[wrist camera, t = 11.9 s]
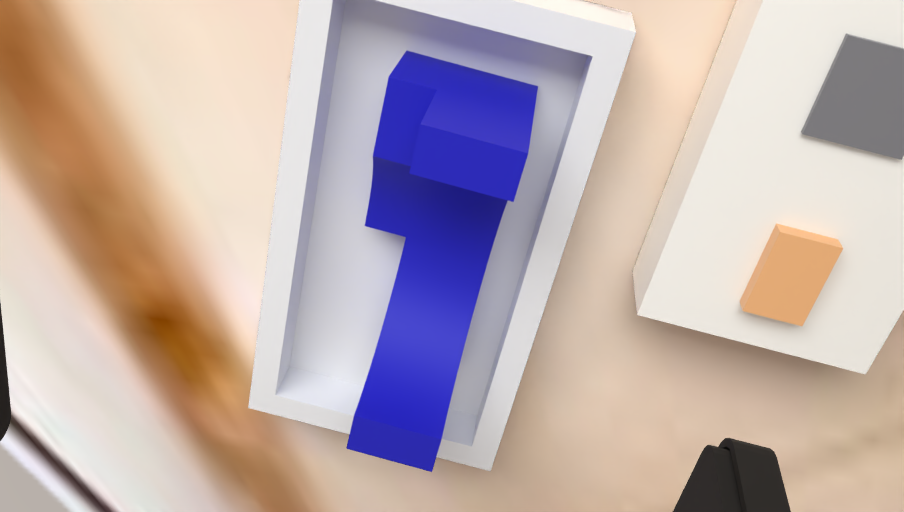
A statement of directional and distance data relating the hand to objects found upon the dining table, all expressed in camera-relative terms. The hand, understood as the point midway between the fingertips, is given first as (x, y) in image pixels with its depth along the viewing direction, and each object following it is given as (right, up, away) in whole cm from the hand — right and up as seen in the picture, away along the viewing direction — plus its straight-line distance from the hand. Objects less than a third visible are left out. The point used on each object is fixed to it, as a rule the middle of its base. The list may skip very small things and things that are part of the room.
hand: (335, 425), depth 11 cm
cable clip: (+1, +3, +20) cm, 20 cm away
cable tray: (0, +4, +20) cm, 21 cm away
